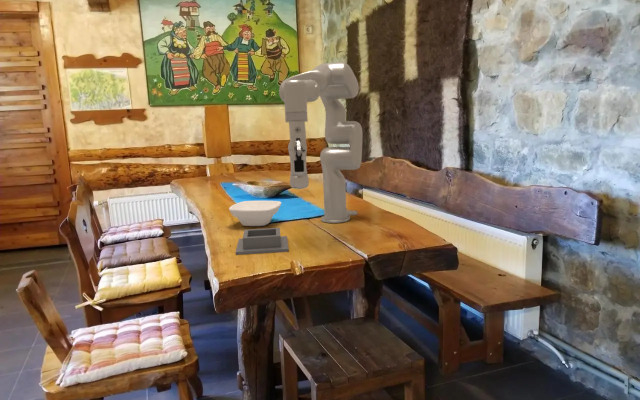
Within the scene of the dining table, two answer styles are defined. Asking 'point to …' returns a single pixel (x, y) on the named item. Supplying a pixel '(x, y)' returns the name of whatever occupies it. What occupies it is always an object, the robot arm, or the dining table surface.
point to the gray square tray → (262, 241)
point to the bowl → (255, 212)
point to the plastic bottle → (298, 178)
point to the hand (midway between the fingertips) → (298, 170)
